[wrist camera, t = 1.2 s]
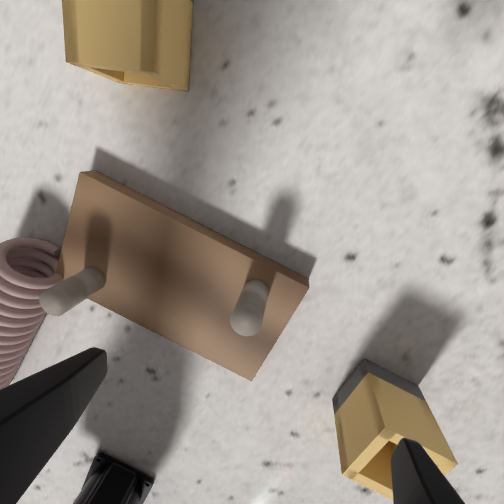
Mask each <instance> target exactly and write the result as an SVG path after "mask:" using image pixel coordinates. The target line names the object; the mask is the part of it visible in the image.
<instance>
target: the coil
mask: <svg viewBox="0 0 504 504" xmlns="http://www.w3.org/2000/svg"><path fill="white" fill-rule="evenodd" d="M33 248H34V249H33ZM38 249H39V250H38ZM41 250H43V251H41ZM60 250H61V248H60V247H58V246H57V245H55V244H53V243H50V242H48V241H45V240H41V239H36V238H14V239H10V240H7V241H4V242H2V243H0V390H1V389H3V388H5V387H7V386H9V384H10V382H11V381H12V378H13V376H14V375H15V373H16V370H17V369H18V367H19V365H20V363H21V361H22V359H23V357H24V355H25V354H26V352H27V349H28V347H29V346H30V344H31V341H32V340H33V338H34V336H35V333H36V332H37V331H38V329H39V325H40V324H41V323H42V321H43V318H44V316H45V315H46V313H47V312H46V311H45V310H44V309H43V308H42V307H41V304H40V301H39V297H40V294H41V293H42V292H43V291H45V290H47V289H48V288H50V287H52V286H54V285H56V284H58V283H60V282H62V281H63V277H62V276H61V275H60V274H58V273H56V269H57V265H58V261H59V259H57V258H56V257H55V256H57V255H59V253H60ZM44 251H46V252H44ZM47 252H48V253H47ZM49 253H50V254H49ZM51 254H52V255H51ZM31 258H32V259H31ZM39 260H40V261H39ZM44 262H45V263H44ZM34 269H35V270H34Z"/></svg>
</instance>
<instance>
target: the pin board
mask: <svg viewBox="0 0 504 504" xmlns="http://www.w3.org/2000/svg"><path fill="white" fill-rule="evenodd" d="M56 273H58V274H60V275H61V276H62V277H63V281H62V282H60V283H58V284H56V285H54V286H52V287H50V288H48V289H47V290H45V291H43V292H42V293H41V294H40V297H39V301H40V304H41V307H42V308H43V309H44V310H45V311H46V312H47V313H48V314H50V315H53V316H60V315H62V314H64V313H65V312H67V311H68V310H70V309H71V308H73V307H74V306H76V305H77V304H79V303H80V302H82V301H83V300H85V299H86V298H88V299H90V300H92V301H94V302H96V303H98V304H100V305H101V306H103V307H105V308H107V309H109V310H111V311H113V312H115V313H117V314H119V315H121V316H123V317H125V318H127V319H129V320H131V321H133V322H135V323H137V324H139V325H141V326H143V327H145V328H147V329H149V330H151V331H153V332H155V333H157V334H159V335H161V336H163V337H165V338H167V339H169V340H171V341H173V342H175V343H177V344H179V345H181V346H183V347H185V348H187V349H189V350H191V351H193V352H195V353H197V354H199V355H201V356H203V357H205V358H207V359H209V360H210V361H212V362H214V363H216V364H218V365H220V366H222V367H224V368H226V369H228V370H230V371H232V372H234V373H236V374H238V375H240V376H242V377H244V378H246V379H248V380H250V381H252V380H253V378H254V377H255V375H256V373H257V372H258V370H259V369H260V367H261V365H262V364H263V362H264V360H265V359H266V357H267V356H268V354H269V352H270V351H271V349H272V347H273V346H274V344H275V343H276V341H277V339H278V338H279V336H280V334H281V333H282V331H283V330H284V328H285V326H286V325H287V323H288V321H289V320H290V318H291V317H292V315H293V313H294V312H295V310H296V309H297V307H298V305H299V304H300V302H301V300H302V299H303V297H304V296H305V294H306V292H307V291H308V289H309V279H308V278H306V277H304V276H302V275H300V274H298V273H296V272H294V271H292V270H290V269H288V268H286V267H284V266H282V265H280V264H278V263H276V262H274V261H272V260H270V259H268V258H266V257H264V256H262V255H260V254H258V253H256V252H254V251H252V250H250V249H248V248H246V247H244V246H242V245H241V244H239V243H237V242H235V241H233V240H231V239H229V238H227V237H225V236H223V235H221V234H219V233H217V232H215V231H213V230H211V229H209V228H207V227H205V226H203V225H201V224H199V223H197V222H195V221H193V220H191V219H189V218H187V217H185V216H183V215H181V214H179V213H177V212H175V211H173V210H171V209H169V208H167V207H165V206H163V205H161V204H159V203H157V202H155V201H153V200H152V199H150V198H148V197H146V196H144V195H142V194H140V193H138V192H136V191H134V190H132V189H130V188H128V187H126V186H124V185H122V184H120V183H118V182H116V181H114V180H112V179H110V178H108V177H106V176H104V175H102V174H100V173H98V172H96V171H85V172H80V174H79V178H78V182H77V186H76V190H75V194H74V198H73V203H72V207H71V211H70V215H69V219H68V223H67V227H66V232H65V236H64V240H63V244H62V248H61V252H60V256H59V261H58V265H57V269H56Z"/></svg>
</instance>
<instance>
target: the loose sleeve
mask: <svg viewBox="0 0 504 504" xmlns="http://www.w3.org/2000/svg"><path fill="white" fill-rule="evenodd" d="M332 401H333V408H334V416H335V424H336V431H337V439H338V447H339V455H340V462H341V470H342V475H344V476H346V477H348V478H350V479H352V480H354V481H356V482H358V483H360V484H362V485H364V486H366V487H368V488H370V489H372V490H374V491H376V492H378V493H380V494H382V495H384V496H386V497H388V498H390V499H392V500H393V489H392V477H391V456H392V454H393V452H394V450H395V448H396V446H397V445H398V443H399V441H400V440H401V439H402V438H408V439H411V440H415V441H417V442H419V443H420V444H421V445H422V447H423V448H424V449H425V451H426V452H427V453H428V455H429V456H430V457H431V459H432V460H433V461H434V463H435V464H436V465H437V467H438V468H439V469H440V471H441V472H442V473H443V475H444V476H445V475H446V474H447V473H448V472H450V471H451V470H452V469H453V468H454V467H455V466H456V465H457V464H458V463H457V461H456V459H455V457H454V455H453V453H452V451H451V449H450V447H449V445H448V443H447V441H446V440H445V438H444V436H443V434H442V432H441V430H440V428H439V426H438V424H437V422H436V420H435V418H434V416H433V414H432V412H431V410H430V408H429V406H428V404H427V402H426V400H425V398H424V396H423V394H422V392H421V390H420V388H419V386H417V385H415V384H413V383H411V382H409V381H407V380H405V379H403V378H401V377H399V376H397V375H395V374H393V373H391V372H389V371H387V370H385V369H384V368H382V367H380V366H378V365H376V364H374V363H372V362H370V361H368V360H366V359H363V360H362V362H361V363H360V364H359V366H358V367H357V368H356V369H355V371H354V372H353V373H352V375H351V376H350V377H349V378H348V380H347V381H346V382H345V384H344V385H343V386H342V388H341V389H340V390H339V391H338V393H337V394H336V395H335V397H334V398H333V399H332Z"/></svg>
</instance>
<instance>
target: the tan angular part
mask: <svg viewBox="0 0 504 504" xmlns="http://www.w3.org/2000/svg"><path fill="white" fill-rule="evenodd" d="M62 9H63V24H64V40H65V55H66V62H68V63H70V64H73V65H75V66H78V67H80V68H83V69H85V70H88V71H90V72H93V73H95V74H98V75H101V76H103V77H106V78H108V79H111V80H113V81H116V82H118V83H124V84H132V85H141V86H149V87H157V88H165V89H173V90H182V91H188V90H189V71H190V53H191V34H192V15H193V0H62Z"/></svg>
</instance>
